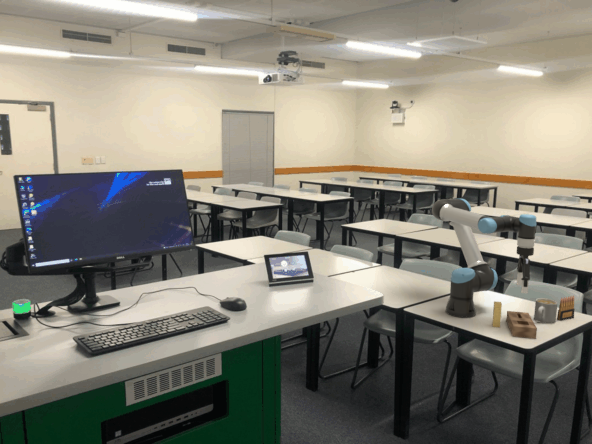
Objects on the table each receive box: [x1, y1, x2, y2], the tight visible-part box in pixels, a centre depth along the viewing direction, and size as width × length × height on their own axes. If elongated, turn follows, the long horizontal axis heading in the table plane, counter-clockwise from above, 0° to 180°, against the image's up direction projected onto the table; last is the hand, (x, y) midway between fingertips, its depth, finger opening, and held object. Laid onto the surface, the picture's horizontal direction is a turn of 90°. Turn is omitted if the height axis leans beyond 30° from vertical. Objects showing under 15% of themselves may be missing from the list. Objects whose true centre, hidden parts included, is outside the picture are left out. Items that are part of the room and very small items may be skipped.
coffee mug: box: [533, 297, 558, 324], centre depth 254 cm, size 13×10×10 cm
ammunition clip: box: [556, 295, 575, 322], centre depth 257 cm, size 11×2×12 cm, turn 116°
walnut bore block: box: [506, 310, 538, 339], centre depth 243 cm, size 10×22×5 cm, turn 165°
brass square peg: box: [491, 300, 503, 328], centre depth 246 cm, size 3×3×12 cm
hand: (521, 289), depth 245 cm, fingers open, 13 cm apart
